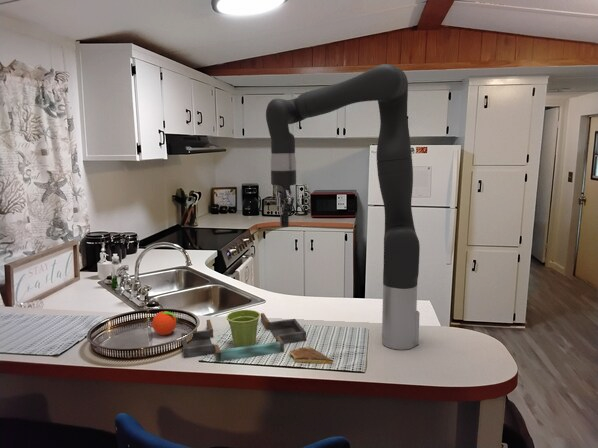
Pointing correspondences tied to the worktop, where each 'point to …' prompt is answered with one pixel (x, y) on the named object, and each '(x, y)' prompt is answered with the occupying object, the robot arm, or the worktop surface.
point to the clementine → (164, 322)
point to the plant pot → (243, 327)
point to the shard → (309, 356)
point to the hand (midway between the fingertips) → (284, 226)
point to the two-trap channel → (280, 329)
